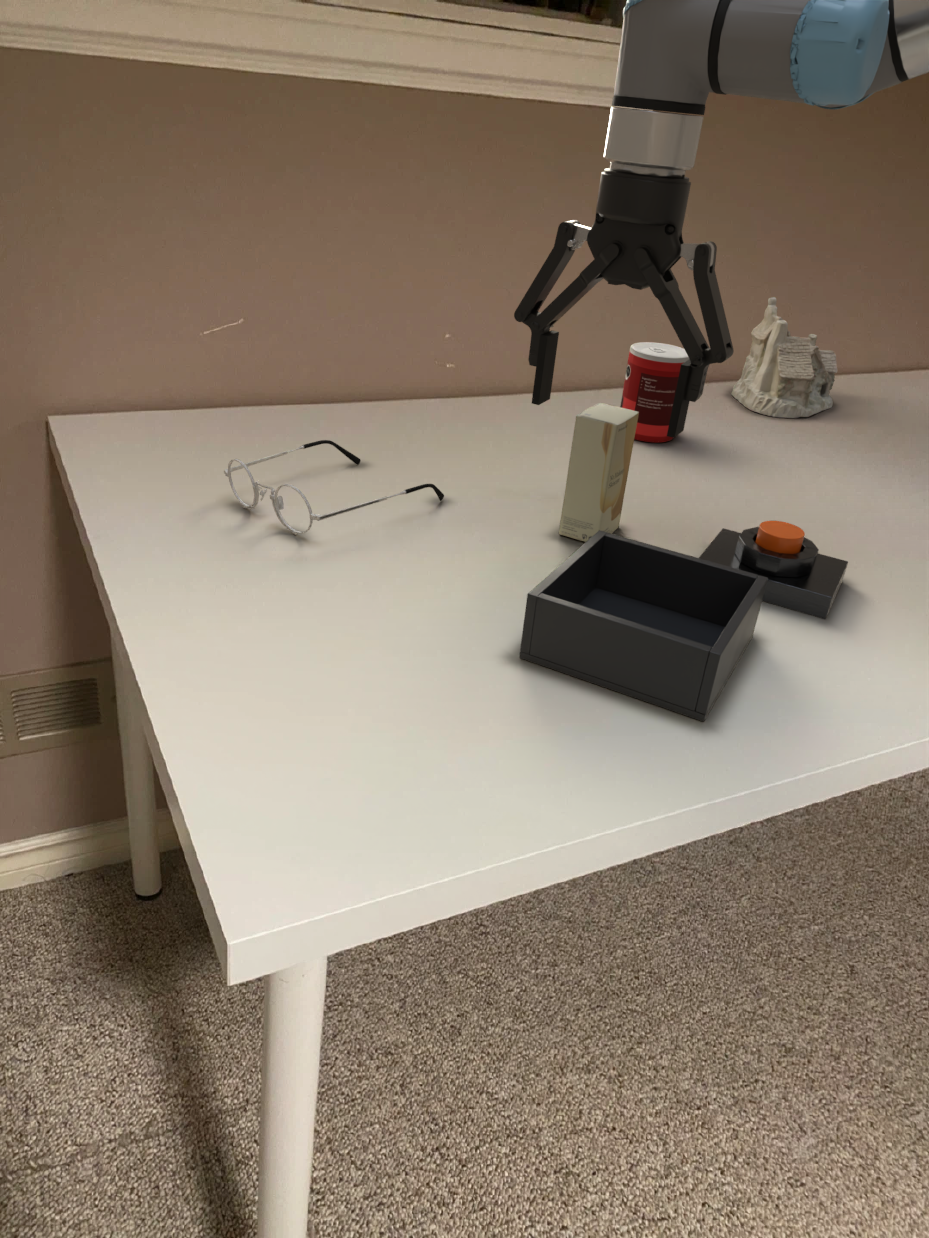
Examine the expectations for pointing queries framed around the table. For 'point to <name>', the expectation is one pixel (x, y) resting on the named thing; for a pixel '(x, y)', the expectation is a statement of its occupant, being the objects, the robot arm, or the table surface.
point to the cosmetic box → (597, 471)
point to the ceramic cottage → (785, 371)
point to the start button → (780, 537)
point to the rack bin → (643, 622)
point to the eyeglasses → (278, 500)
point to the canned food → (652, 387)
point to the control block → (782, 571)
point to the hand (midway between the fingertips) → (605, 417)
